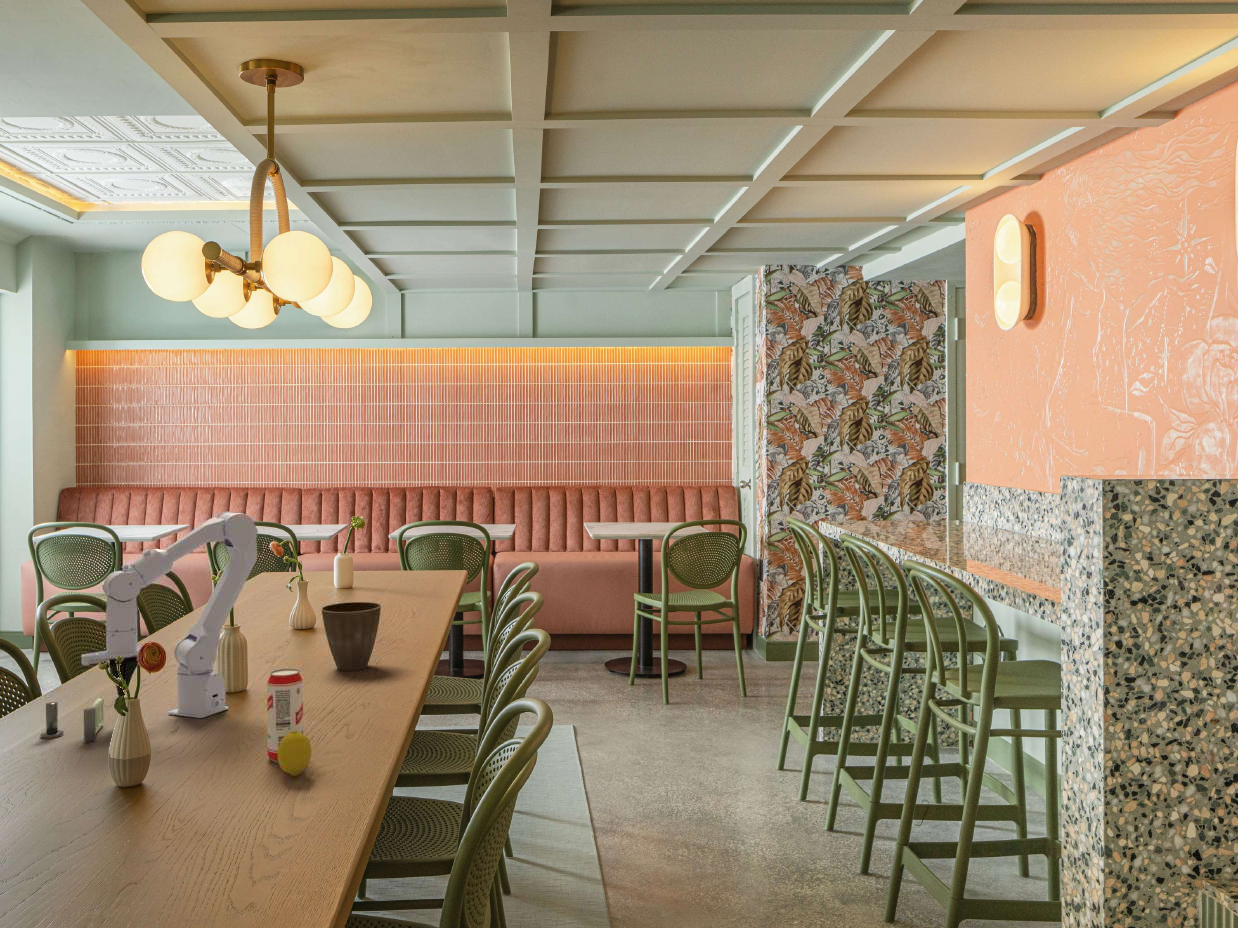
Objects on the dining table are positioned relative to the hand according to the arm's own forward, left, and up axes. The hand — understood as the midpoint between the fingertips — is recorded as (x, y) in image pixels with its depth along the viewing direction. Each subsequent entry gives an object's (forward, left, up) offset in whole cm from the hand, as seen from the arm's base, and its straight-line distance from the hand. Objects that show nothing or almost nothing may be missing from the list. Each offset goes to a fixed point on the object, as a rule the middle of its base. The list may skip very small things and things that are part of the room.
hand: (122, 694), depth 197 cm
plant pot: (-13, -59, -6) cm, 60 cm away
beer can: (-47, +5, -6) cm, 48 cm away
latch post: (+6, +11, -6) cm, 14 cm away
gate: (-1, +7, -6) cm, 9 cm away
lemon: (-55, +12, -6) cm, 57 cm away
